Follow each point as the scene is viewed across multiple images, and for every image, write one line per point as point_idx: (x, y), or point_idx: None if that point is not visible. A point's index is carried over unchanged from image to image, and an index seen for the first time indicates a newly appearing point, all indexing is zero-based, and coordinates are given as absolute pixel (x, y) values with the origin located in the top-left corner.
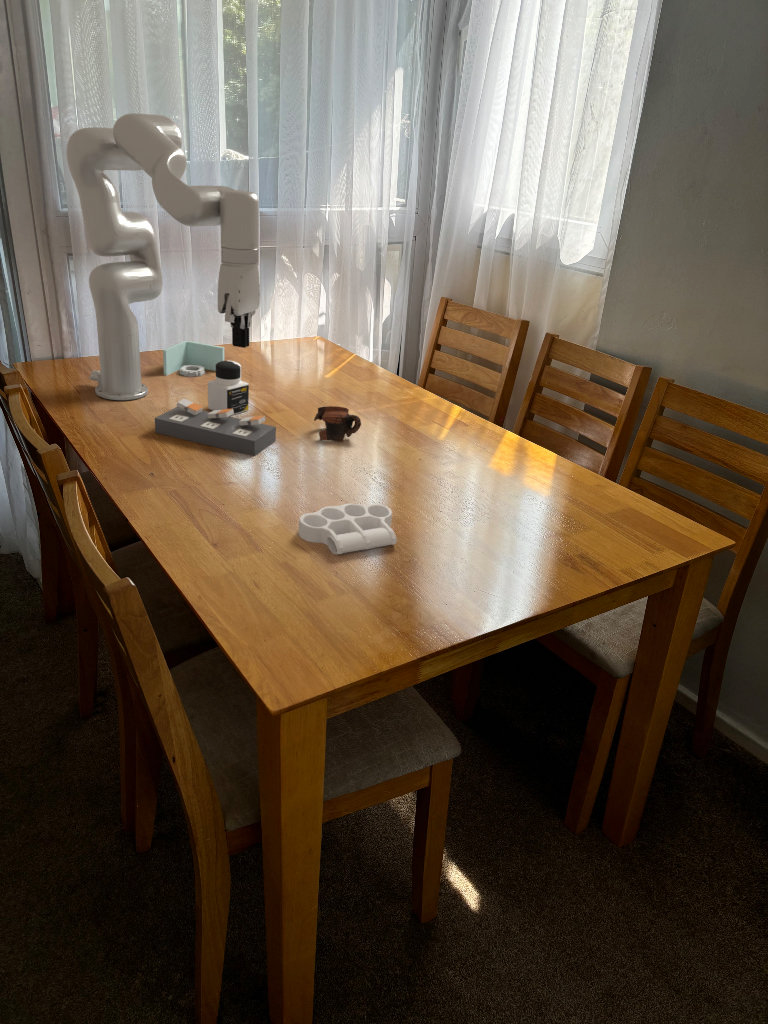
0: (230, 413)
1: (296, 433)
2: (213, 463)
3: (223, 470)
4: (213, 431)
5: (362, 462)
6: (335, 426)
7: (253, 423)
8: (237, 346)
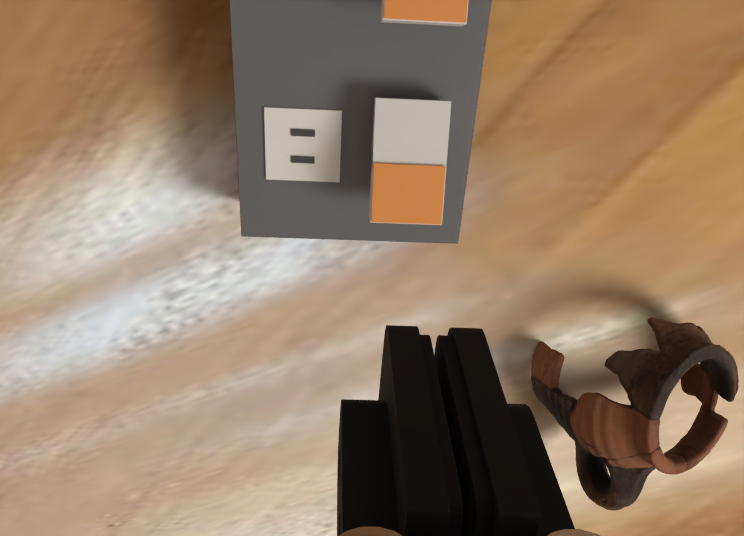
0: (425, 23)
1: (574, 247)
2: (72, 88)
3: (42, 159)
4: (231, 2)
5: None
6: (567, 427)
7: (370, 185)
8: (382, 375)
